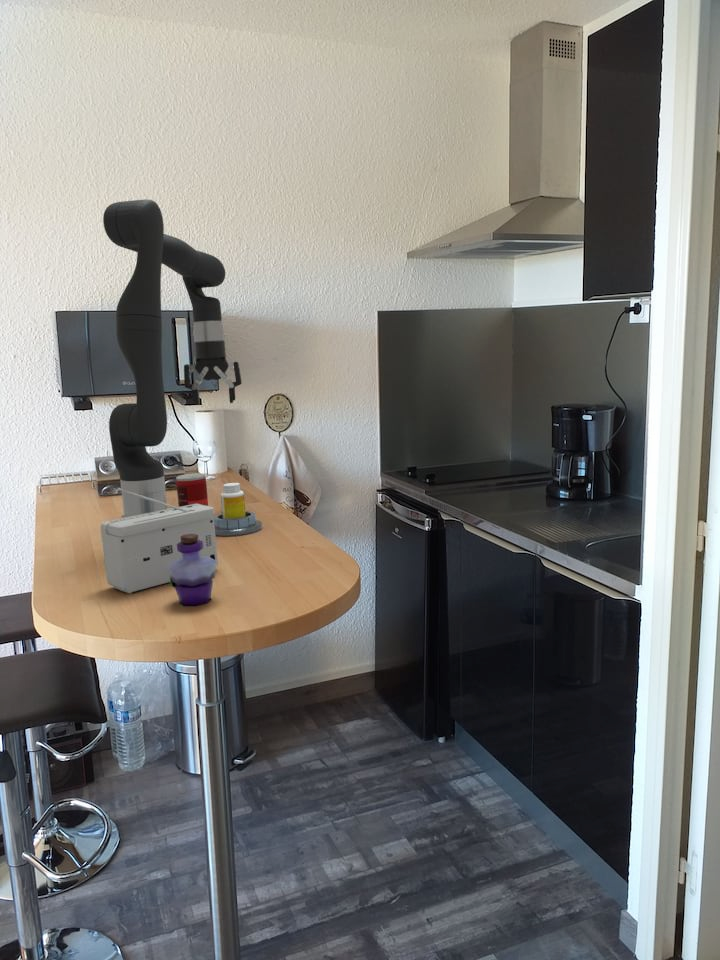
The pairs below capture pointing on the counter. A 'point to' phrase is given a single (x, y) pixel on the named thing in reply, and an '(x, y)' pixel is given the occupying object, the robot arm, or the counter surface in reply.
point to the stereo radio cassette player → (153, 544)
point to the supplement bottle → (233, 502)
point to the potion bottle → (192, 572)
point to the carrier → (236, 525)
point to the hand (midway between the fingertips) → (215, 403)
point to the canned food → (192, 489)
